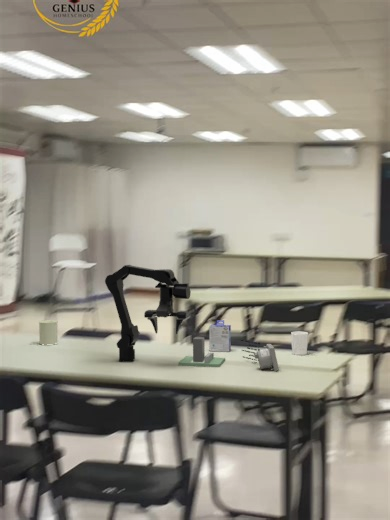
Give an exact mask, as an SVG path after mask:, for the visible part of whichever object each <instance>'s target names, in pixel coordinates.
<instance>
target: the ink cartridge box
mask: <svg viewBox="0 0 390 520" xmlns="http://www.w3.org/2000/svg"><path fill="white" fill-rule="evenodd" d="M231 326H232V325H231V324H225V320H222V319H219V320H216V324H211V325H210V326H209V330H208V331H209V337H208V338H209V341H208V342H209V344H208V345H209V346H208V347H209V350H208V351H209V352H230V351H231V350H232V345H231V344H232V343H231V342H232V328H231Z"/></svg>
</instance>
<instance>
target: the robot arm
mask: <svg viewBox="0 0 390 520" xmlns="http://www.w3.org/2000/svg"><path fill="white" fill-rule="evenodd" d="M129 275H132V276H136V277H143V278H149V279H151V280H152V279H153V280H154V281H157V282H158V284H156V285H155V287H154V288H155V289H159V301H158V306H157V308H156V309H147V310H145V311H144V316H143V317H144V318H146V319H147V320H148V321H150V323H151V324H152V326H153V329H154V332H155V334H156V335H157V334H158V330H159V329H158V318H168V317H177V318H176V319H175V320H176V328H175V335H178V333H179V331H180V328H181V325H182V323H183V321H185V320H186V319H188V318H190V317H189V316H190V314H189V311H188V310H178V311H175V309H174V298H175V299H177V300H180V299H181V300H189V299H190V297H191V291H192V290H191V289H190V285H189V283H188V282H186V283H184V282H183V283H180V282H179V281H178V279H177V278H176V276H175V272H174V270H172V269H171V268H170V269H169V268H167V269H165V268H164V269H161V268H159V269H153V268H147V267H141V266H136V265H131V264H125V265H123V266H122V267H121V268H119V269H118V270H116V271H115V272H113V273H112V274H109V275H107V276H106V277H105V280H104V283H105V286H106V287H107V290H108V291H109V293H111V295H112V298H113V301H114V304H115V308H116V311H117V314H118V315H117V316H118V318H119V321H120V325H121V326H120V327H121V328H120V335H121V337H120V339H119V340H118V341H117V343H116V347H117V348H118V353H119V354H118V355H119V358H118V362H121V363H122V362H134V360H135V359H136V349H135V348H134V346H135V345H136V342H138V340H140V335H141V332H140V331H139V328H138V325H134V324H133V322H132V320H131V319H132V318H131V316H130V312H129V309H128V306H127V305H128V304H127V301H126V299H125V294H124V285H125V284H124V280H126V278H128V277H129Z"/></svg>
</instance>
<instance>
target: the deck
mask: <svg viewBox="0 0 390 520" xmlns="http://www.w3.org/2000/svg"><path fill="white" fill-rule="evenodd" d="M214 356H215V355H214V352H208V353H206V354H205V360H204V361H203V362H193V355H190V356H189V355H188V356H187V355H185V356H184V357H183V358H182V359H181V360H180V361H178V362H177V365H178V366H183V365H185V366H187V367H204V368H205V367H207V368H208V367H209V368H220V367H221V366H222V365H223V363H224V362H225V361H226V357H214Z"/></svg>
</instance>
